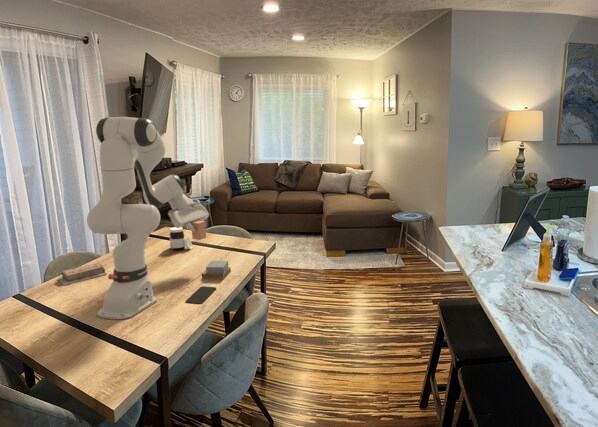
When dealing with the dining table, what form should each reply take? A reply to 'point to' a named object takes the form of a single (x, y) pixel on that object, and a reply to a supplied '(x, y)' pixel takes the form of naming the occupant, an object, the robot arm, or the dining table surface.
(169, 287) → the dining table surface
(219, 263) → the slate slab
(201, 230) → the terracotta block
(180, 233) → the spread jar
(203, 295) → the phone
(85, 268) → the packaged product
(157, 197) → the robot arm
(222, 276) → the walnut slab
